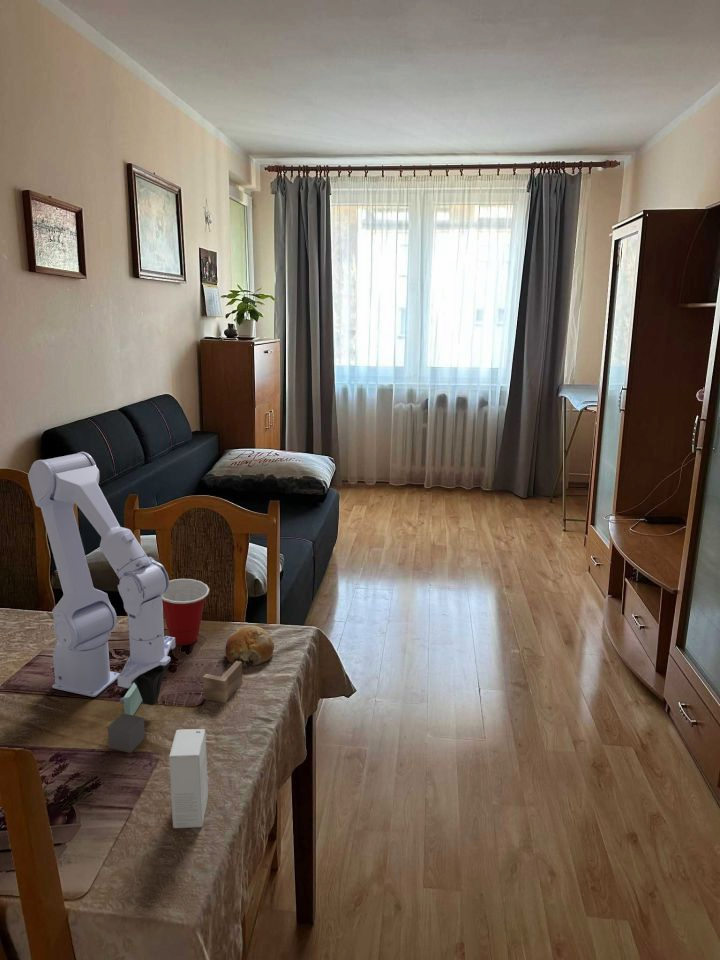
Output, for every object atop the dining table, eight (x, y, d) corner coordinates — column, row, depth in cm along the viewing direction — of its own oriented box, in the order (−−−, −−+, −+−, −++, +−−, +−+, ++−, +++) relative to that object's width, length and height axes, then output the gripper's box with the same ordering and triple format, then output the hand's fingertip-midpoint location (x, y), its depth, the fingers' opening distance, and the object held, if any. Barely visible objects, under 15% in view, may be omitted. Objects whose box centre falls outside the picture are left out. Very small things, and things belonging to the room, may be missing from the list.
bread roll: (278, 671, 141) (288, 634, 142) (248, 672, 132) (259, 632, 133) (242, 657, 146) (252, 621, 147) (211, 657, 137) (222, 618, 138)
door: (142, 681, 128) (141, 661, 127) (155, 682, 128) (154, 662, 127) (118, 718, 117) (116, 697, 116) (131, 719, 117) (130, 697, 116)
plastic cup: (186, 657, 138) (184, 603, 135) (148, 643, 143) (145, 591, 140) (221, 635, 147) (219, 585, 144) (184, 623, 152) (182, 574, 149)
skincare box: (179, 798, 99) (176, 728, 96) (208, 797, 100) (206, 727, 97) (171, 829, 94) (168, 756, 90) (202, 828, 94) (200, 755, 91)
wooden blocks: (130, 683, 128) (128, 662, 127) (151, 664, 135) (150, 644, 134) (225, 703, 123) (224, 681, 122) (242, 682, 130) (242, 661, 128)
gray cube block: (109, 748, 110) (107, 727, 109) (124, 733, 114) (122, 713, 113) (130, 753, 109) (129, 732, 108) (144, 738, 113) (143, 717, 112)
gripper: (142, 657, 107) (146, 730, 111) (189, 618, 121) (191, 684, 124) (104, 649, 109) (109, 722, 113) (154, 612, 123) (158, 678, 126)
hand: (150, 702), depth 119 cm, fingers closed
